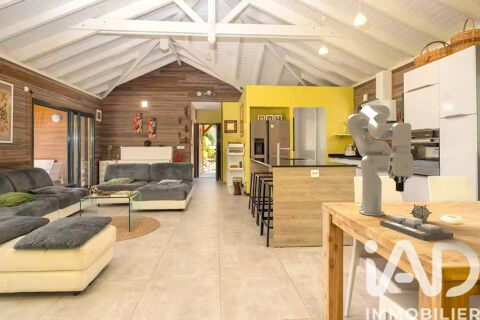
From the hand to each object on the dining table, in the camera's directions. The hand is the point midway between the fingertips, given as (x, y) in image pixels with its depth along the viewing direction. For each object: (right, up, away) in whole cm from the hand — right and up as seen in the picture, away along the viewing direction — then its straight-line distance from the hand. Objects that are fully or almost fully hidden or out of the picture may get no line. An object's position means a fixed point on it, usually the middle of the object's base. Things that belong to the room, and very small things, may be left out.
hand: (399, 191), depth 133 cm
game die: (+15, -16, +10) cm, 24 cm away
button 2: (+4, -14, -16) cm, 21 cm away
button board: (+2, -16, -8) cm, 18 cm away
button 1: (0, -14, 0) cm, 14 cm away
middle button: (+2, -13, -8) cm, 15 cm away
